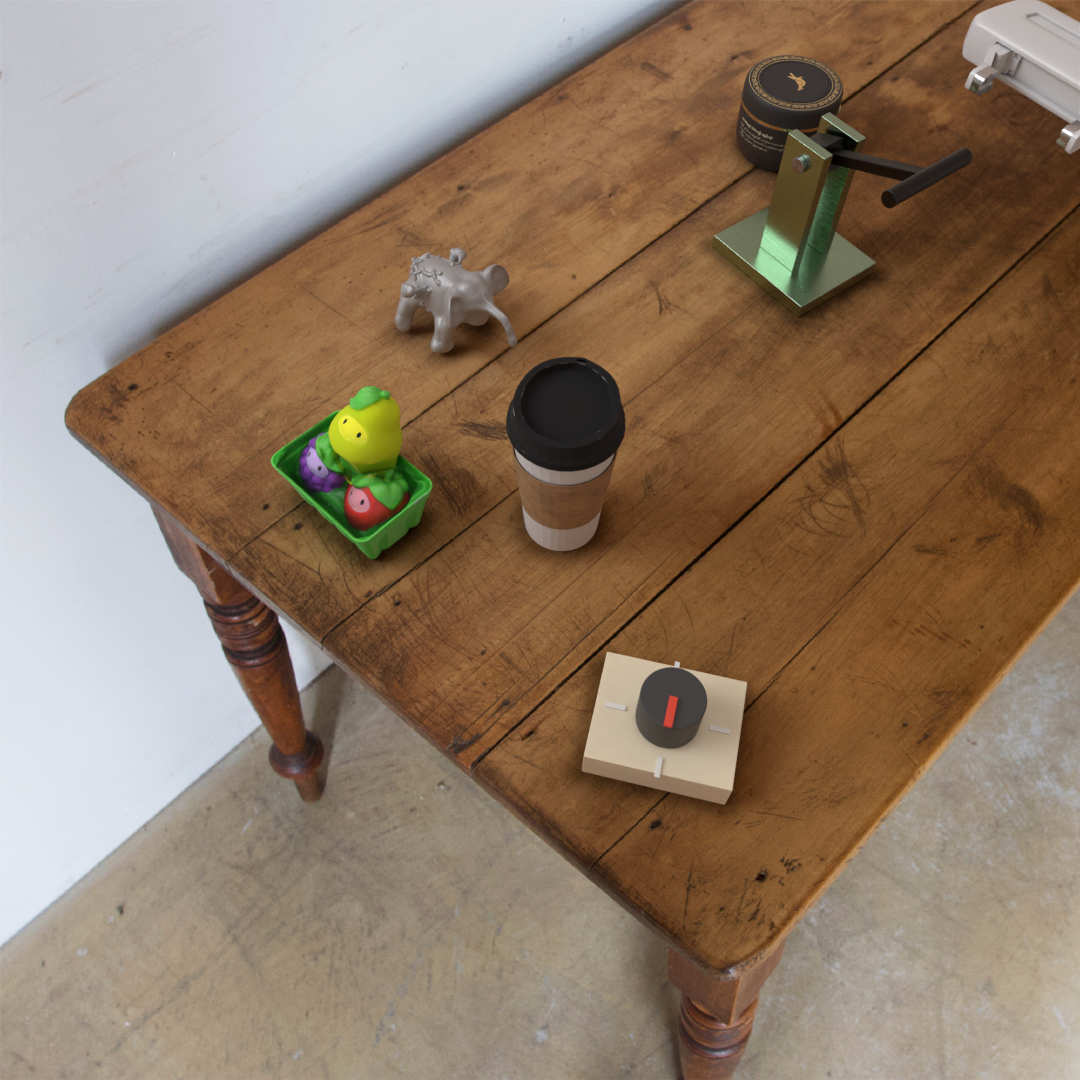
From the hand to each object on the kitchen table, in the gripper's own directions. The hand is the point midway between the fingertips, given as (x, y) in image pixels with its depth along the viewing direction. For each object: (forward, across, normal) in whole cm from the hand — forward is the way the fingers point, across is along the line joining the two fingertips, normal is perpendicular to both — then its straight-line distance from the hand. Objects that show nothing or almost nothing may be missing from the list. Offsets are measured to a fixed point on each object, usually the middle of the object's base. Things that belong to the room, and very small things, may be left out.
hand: (1018, 112), depth 82 cm
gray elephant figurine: (+42, -20, +17) cm, 50 cm away
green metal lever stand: (+11, -10, +17) cm, 23 cm away
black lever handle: (+11, -5, +4) cm, 13 cm away
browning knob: (+53, +20, +14) cm, 58 cm away
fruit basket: (+59, -9, +17) cm, 63 cm away
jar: (0, -23, +17) cm, 29 cm away
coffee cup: (+48, +1, +17) cm, 51 cm away
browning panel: (+53, +20, +17) cm, 59 cm away
